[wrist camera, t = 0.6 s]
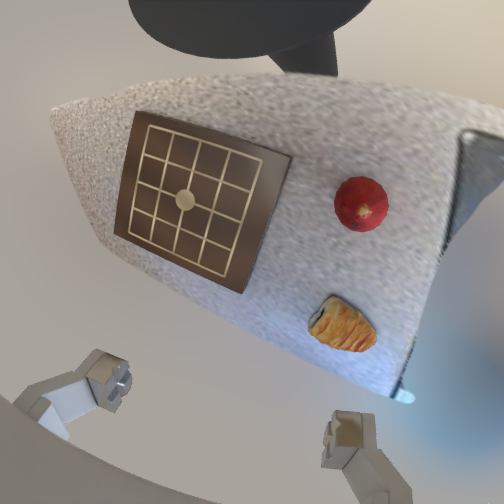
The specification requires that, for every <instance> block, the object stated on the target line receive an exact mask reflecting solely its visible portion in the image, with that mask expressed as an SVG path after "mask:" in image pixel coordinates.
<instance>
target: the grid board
mask: <svg viewBox="0 0 504 504" xmlns="http://www.w3.org/2000/svg"><path fill="white" fill-rule="evenodd" d="M292 158H293V157H291V156H289V155H286V154H283V153H280V152H278V151H275V150H272V149H269V148H266V147H264V146H261V145H258V144H255V143H252V142H249V141H246V140H243V139H240V138H237V137H234V136H230V135H227V134H224V133H221V132H218V131H214V130H211V129H208V128H204V127H201V126H197V125H194V124H190V123H187V122H183V121H179V120H176V119H172V118H168V117H164V116H160V115H156V114H152V113H148V112H144V111H136V112H135V116H134V120H133V124H132V128H131V133H130V137H129V142H128V147H127V152H126V157H125V162H124V167H123V173H122V178H121V184H120V190H119V197H118V204H117V211H116V218H115V226H114V234H116V235H118V236H120V237H122V238H124V239H126V240H128V241H130V242H132V243H134V244H136V245H138V246H140V247H142V248H144V249H146V250H148V251H150V252H152V253H154V254H156V255H158V256H160V257H162V258H164V259H166V260H168V261H170V262H173V263H175V264H177V265H179V266H181V267H183V268H185V269H187V270H189V271H192V272H194V273H196V274H198V275H200V276H202V277H204V278H207V279H209V280H211V281H213V282H215V283H218V284H220V285H222V286H224V287H226V288H229V289H231V290H233V291H235V292H237V293H240V294H242V293H243V292H244V290H245V288H246V286H247V283H248V280H249V277H250V275H251V272H252V269H253V266H254V264H255V261H256V258H257V255H258V252H259V250H260V247H261V244H262V241H263V239H264V236H265V233H266V230H267V228H268V225H269V222H270V219H271V216H272V214H273V211H274V208H275V205H276V202H277V200H278V197H279V194H280V191H281V188H282V186H283V183H284V180H285V177H286V174H287V172H288V169H289V166H290V163H291V160H292Z"/></svg>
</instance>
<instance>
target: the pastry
mask: <svg viewBox="0 0 504 504" xmlns="http://www.w3.org/2000/svg"><path fill="white" fill-rule="evenodd" d="M308 332H309V333H310V335H311V336H314V337H315V338H316V339H317V340H319V342H321V343H324V344H326V345H329V346H330V347H331V348H335V349H341V350H345V351H352V352H363V351H366V350H367V349H369V348H370V347H371V346H372V345H374V344H375V343H376V331H375V329H374V328H373V327H372V326H371V325H370V323H369V321H368V320H366V319H365V318H364V316H363V315H362V313H361V312H359V311H358V310H356V309H355V308H353V307H352V306H351V305H349V304H347V303H346V302H345V301H343V300H342V299H340V298H337V297H334V296H332V297H329V298H328V299H327V300H326V301H325V302H324V303H323V304H322V306H321V308H320V309H319V311H318V313H317V314H315V315H314V316H313V317H312V318H311V320H310V321H309V325H308Z"/></svg>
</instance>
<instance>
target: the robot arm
mask: <svg viewBox="0 0 504 504" xmlns="http://www.w3.org/2000/svg"><path fill="white" fill-rule="evenodd" d="M128 368H129V363H128V361H126V360H123V359H121V358H118V357H116V356H114V355H111V354H109V353H106V352H104V351H101V350H99V349H95V350H93V351H92V352H91V353H90V355H89V356H88V357H87V358H86V359H85V360H84V361H83V363H82V364H81V365H80V366H79V367H78V368H77V369H76V371H75V372H73V371H70V372H67V373H64V374H61V375H59V376H56V377H53V378H50V379H47V380H45V381H42V382H38V383H36V384H33V385H30V386H28V387H27V388H26V389H25V390H24V391H23V392H22V394H21V395H20V396H19V397H18V398H17V399H16V400H15V401H14V403H13V404H12V403H10V402H9V401H8V400H6V399H5V398H4V397H3V396H1V395H0V504H220V503H215V502H212V501H208V500H205V499H201V498H198V497H194V496H191V495H188V494H185V493H181V492H178V491H176V490H173V489H170V488H167V487H164V486H161V485H159V484H156V483H153V482H151V481H148V480H146V479H143V478H141V477H138V476H136V475H134V474H131V473H129V472H127V471H124V470H122V469H120V468H118V467H116V466H114V465H111V464H109V463H107V462H105V461H103V460H101V459H99V458H97V457H95V456H93V455H91V454H89V453H88V452H86V451H84V450H82V449H80V448H78V447H77V446H75V445H73V444H71V443H70V442H68V441H67V439H68V438H69V437H70V433H69V431H68V430H67V428H66V426H65V424H67V423H69V422H71V421H72V420H74V419H76V418H78V417H80V416H82V415H84V414H86V413H88V412H89V411H91V410H93V409H95V408H97V407H98V406H99V407H102V408H104V409H106V410H109V411H111V412H113V413H115V412H116V410H117V409H118V407H119V406H120V404H121V403H122V399H121V397H122V396H125V395H126V394H128V392H129V390H130V388H131V385H132V375H131V373H130V372H129V371H128ZM323 444H324V446H325V447H326V448H325V450H324V451H323V453H322V463H321V467H322V468H330V469H340V470H342V472H343V474H344V475H345V477H346V479H347V481H348V483H349V485H350V486H351V488H352V490H353V492H354V494H355V496H356V497H357V499H358V501H359V503H360V504H413V500H412V489H411V487H410V486H409V485H408V484H407V482H406V481H405V480H404V479H403V477H402V476H401V475H400V473H399V472H398V471H397V470H396V468H395V467H394V466H393V464H392V463H391V462H390V461H389V459H388V458H387V457H386V455H385V454H384V453H383V452H382V450H381V449H377V442H376V426H375V416H374V414H369V413H360V412H350V411H339V410H335V411H334V412H333V414H332V421H330V422H328V424H327V427H326V430H325V433H324V440H323Z"/></svg>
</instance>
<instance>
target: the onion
mask: <svg viewBox="0 0 504 504" xmlns="http://www.w3.org/2000/svg"><path fill="white" fill-rule="evenodd" d="M334 206H335V212H336V215H337V216H338V218H339V220H340V221H341V223H342V224H343V225H345V226H346V227H347V228H349V229H350V230H352V231H358V232H365V231H370V230H373V229H375V228H376V227H378V226H379V225H380V224H381V223H382V221H383V220H384V218H385V217H386V215H387V211H388V207H389V204H388V199H387V194H386V192H385V191H384V189H383V188H382V186H381V185H380V184H378V183H377V182H376V181H374V180H373V179H370V178H366V177H363V176H361V177H353V178H350V179H348V180H347V181H346V182H344V183H343V184H342V185H341V186H340V188H339V189H338V191H337V192H336V196H335V200H334Z"/></svg>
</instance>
